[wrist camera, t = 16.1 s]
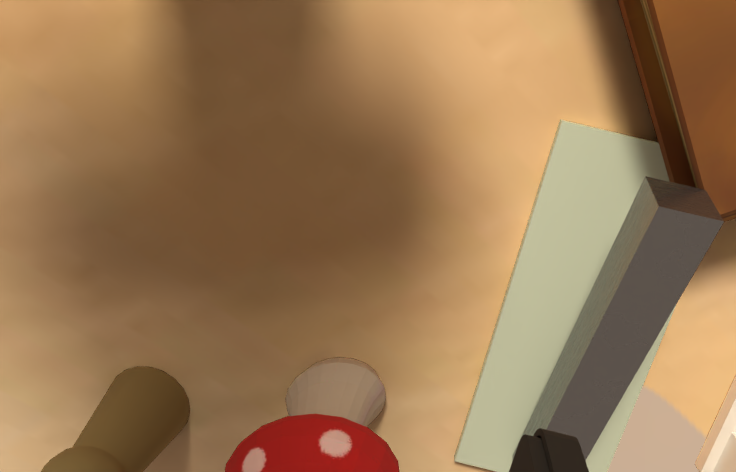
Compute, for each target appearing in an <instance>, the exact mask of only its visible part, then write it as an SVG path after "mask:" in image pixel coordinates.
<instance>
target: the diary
mask: <svg viewBox="0 0 736 472" xmlns="http://www.w3.org/2000/svg"><path fill="white" fill-rule="evenodd" d="M618 2H619V6H620V9H621V13H622V16H623V20H624V23H625V27H626V30H627V34H628V37H629V41H630V44H631V48H632V51H633V55H634V58H635V62H636V65H637V69H638V72H639V76H640V79H641V83H642V86H643V90H644V93H645V97H646V100H647V104H648V107H649V111H650V114H651V118H652V121H653V125H654V128H655V132H656V135H657V139H658V142H659V146H660V149H661V153H662V156H663V160H664V163H665V167H666V170H667V174H668V177H669V181H670V182H673V183H677V184H682V185H686V186H690V187H695V188H699V189H703V190H706V192H707V193H708V195H709V197H710V198H711V200H712V202H713V203H714V205H715V207H716V208H717V210H718V212H719V214H720V215H721V217H722V219H723V220H724V222H725V221H729V220H732V219H735V218H736V0H618Z"/></svg>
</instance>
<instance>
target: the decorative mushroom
mask: <svg viewBox="0 0 736 472" xmlns="http://www.w3.org/2000/svg"><path fill="white" fill-rule="evenodd" d="M285 400H286V406H287V411H288V413H289V416H287V417H284V418H282V419H279V420H276V421H274V422H271V423H268V424H266V425H263V426H261V427H260V428H259V429H257V430H256V431H255V432H253V433H252V434H251V435H249V436H248V437H247V438H245V439H244V440H243V441H242V442H241V443H240V444H239V445H238V446H237V448H236V450H235V451H234V453H233V454H232V456H231V457H230V459H229V461H228V462H227V464H226V468H225V472H399V465H398V460H397V459H396V457H395V455H394V454H393V452H392V451H391V449H390V447H389V446H388V444H387V442H385V441H384V440H383V439H382V438H380V437H379V436H378V435H377V434H375V433H374V432H373V431H371V430H370V429H369V428H368V425H369V424H370V423H371V422H372V421H373V420H374V419H375V418H376V417H377V416H378V415H379V413H380V412H381V411H382V409H383V406H384V403H385V400H386V396H385V388H384V386H383V384H382V382H381V380H380V378H379V377H378V375H377V373H376V372H375V370H374V369H372V368H371V367H370V366H369V365H367V364H366V363H364V362H361V361H358V360H356V359H352V358H342V357H339V358H331V359H326V360H323V361H320V362H318V363H315V364H314V365H312V366H311V367H309V368H308V369H307V370H305V371H304V372H303V373H301V374H300V375H299V376H298V377H297V378H295V380H294V381H293V383H292V384H291V385H290V387H289V388H288V391H287V395H286V399H285Z"/></svg>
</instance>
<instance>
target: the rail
mask: <svg viewBox="0 0 736 472" xmlns="http://www.w3.org/2000/svg"><path fill="white" fill-rule="evenodd" d="M723 223H724V220H723V219H722V217H721V215H720V214H719V212H718V210H717V208H716V207H715V205H714V203H713V202H712V200H711V198H710V197H709V195H708V193H707V192H706V190H703V189H699V188H695V187H690V186H686V185H682V184H677V183H673V182H669V181H664V180H660V179H655V178H651V177H647V176H645V178H644V180H643V182H642V184H641V186H640V188H639V190H638V193H637V195H636V197H635V199H634V201H633V203H632V205H631V207H630V209H629V211H628V214H627V216H626V218H625V220H624V222H623V224H622V226H621V228H620V230H619V233H618V235H617V237H616V239H615V241H614V243H613V245H612V247H611V249H610V251H609V254H608V256H607V258H606V260H605V262H604V264H603V266H602V268H601V270H600V272H599V275H598V277H597V279H596V281H595V283H594V285H593V287H592V289H591V291H590V293H589V296H588V298H587V300H586V302H585V304H584V306H583V308H582V310H581V312H580V314H579V317H578V319H577V321H576V323H575V325H574V327H573V329H572V331H571V333H570V336H569V338H568V340H567V342H566V344H565V346H564V348H563V350H562V352H561V354H560V357H559V359H558V361H557V363H556V365H555V367H554V369H553V371H552V373H551V375H550V378H549V380H548V382H547V384H546V386H545V388H544V390H543V392H542V394H541V396H540V399H539V401H538V403H537V405H536V407H535V409H534V411H533V413H532V415H531V417H530V420H529V422H528V424H527V426H526V428H525V430H524V432H523V434H522V436H523V435H524V434H526V435H530V436H534V433H535V432H536V430H537V429H539V428H542V429H546V430H550V431H554V432H558V433H562V434H566V435H570V436H574V437H576V438H577V439H578V441H579V443H580V446H581V449H582V452H583V455H584V458H585V461H586V459H587V457H588V455H589V454H590V452H591V450H592V449H593V447H594V445H595V443H596V442H597V440H598V438H599V436H600V435H601V433H602V431H603V430H604V428H605V426H606V424H607V423H608V421H609V419H610V418H611V416H612V414H613V412H614V411H615V409H616V407H617V405H618V404H619V402H620V400H621V399H622V397H623V395H624V393H625V392H626V390H627V388H628V386H629V385H630V383H631V381H632V380H633V378H634V376H635V374H636V373H637V371H638V369H639V368H640V366H641V364H642V362H643V361H644V359H645V357H646V355H647V354H648V352H649V350H650V349H651V347H652V345H653V343H654V342H655V340H656V338H657V336H658V335H659V333H660V331H661V330H662V328H663V326H664V324H665V323H666V321H667V319H668V317H669V316H670V314H671V312H672V311H673V309H674V307H675V305H676V304H677V302H678V300H679V299H680V297H681V295H682V293H683V292H684V290H685V288H686V286H687V285H688V283H689V281H690V280H691V278H692V276H693V274H694V273H695V271H696V269H697V267H698V266H699V264H700V262H701V261H702V259H703V257H704V255H705V254H706V252H707V250H708V249H709V247H710V245H711V243H712V242H713V240H714V238H715V236H716V235H717V233H718V231H719V230H720V228H721V226H722V224H723ZM522 436H521V437H522ZM519 442H520V441H519ZM518 444H519V443H518ZM517 447H518V445H517ZM517 447H516V449H515V451H514V453H513V455H512V459H514V456H515V453H516V450H517Z"/></svg>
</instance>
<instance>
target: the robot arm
mask: <svg viewBox="0 0 736 472" xmlns="http://www.w3.org/2000/svg"><path fill="white" fill-rule="evenodd" d="M509 472H589V470H588V467H587V464H586V461H585V458H584V455H583V452H582V449H581V446H580V443H579V441H578V439H577V438H576V437H574V436H570V435H566V434H562V433H558V432H554V431H550V430H546V429H542V428H539V429H537V430H536V432H535V433H534V436H530V435H526V434H524V435H523V436H522V437H521V439H520V442H519V444H518V447H517V450H516V453H515V456H514V459H513V461H512V464H511V467H510V470H509Z"/></svg>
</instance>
